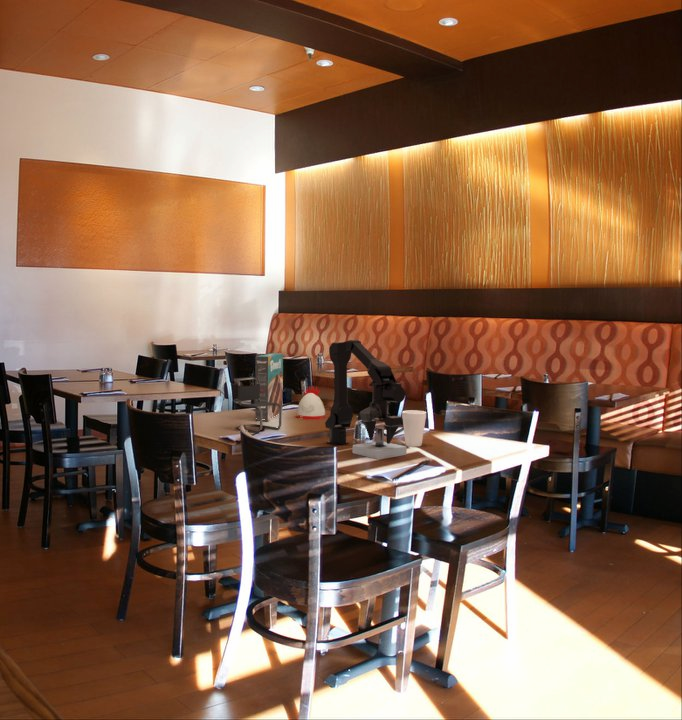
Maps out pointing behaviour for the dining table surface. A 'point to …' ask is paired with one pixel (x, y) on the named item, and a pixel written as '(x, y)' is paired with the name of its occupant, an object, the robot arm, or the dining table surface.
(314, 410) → the kitchen timer
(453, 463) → the dining table surface
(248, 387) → the chair
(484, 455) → the dining table surface
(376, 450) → the socket block
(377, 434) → the pin
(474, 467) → the dining table surface
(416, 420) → the foam cup
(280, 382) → the cake mix box
